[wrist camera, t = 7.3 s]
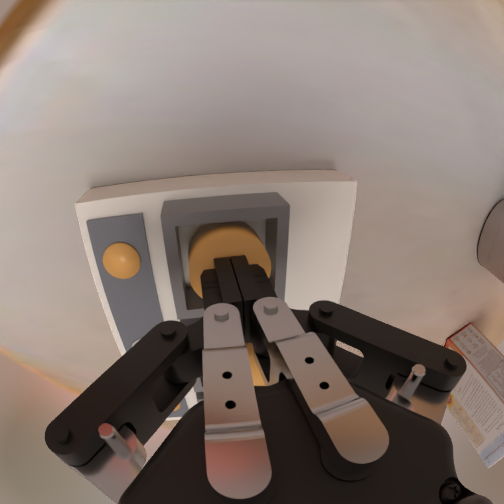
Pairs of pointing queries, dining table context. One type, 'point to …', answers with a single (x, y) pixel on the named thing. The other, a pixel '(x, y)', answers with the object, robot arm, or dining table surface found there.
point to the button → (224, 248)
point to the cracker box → (479, 393)
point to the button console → (195, 217)
